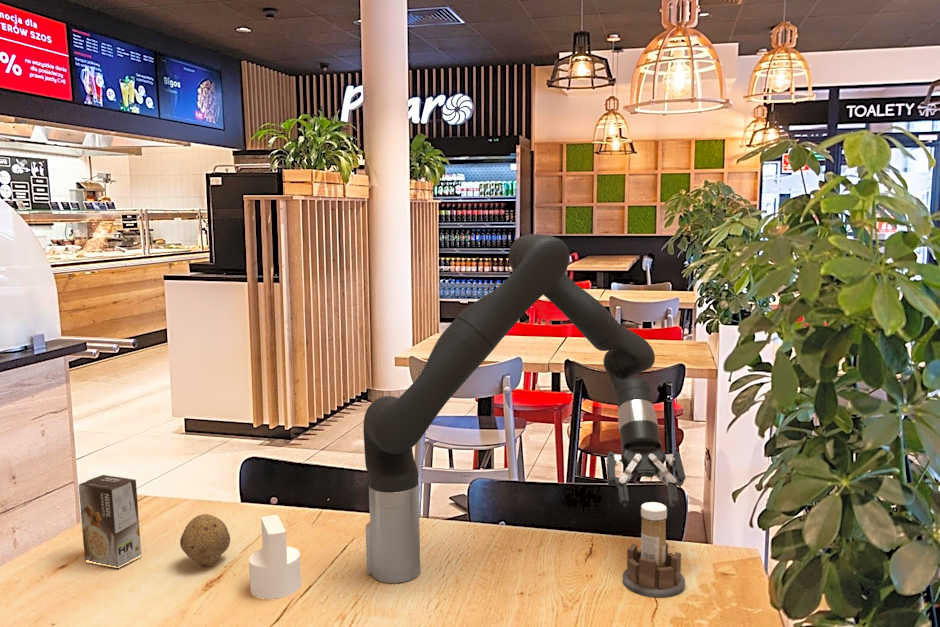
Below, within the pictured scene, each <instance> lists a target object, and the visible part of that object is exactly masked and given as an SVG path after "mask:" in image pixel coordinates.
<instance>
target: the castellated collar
mask: <svg viewBox="0 0 940 627" xmlns="http://www.w3.org/2000/svg"><path fill="white" fill-rule="evenodd" d="M626 552H627V554H626V555H627V559H626V560H627V561H626V562H627V563H626V569H625V570H624V571H623V573H622V584H623V586H624V587H625V588H627V589H628V590H629V591H631V592H632V593H635V594H638V595H640V596H644V597H649V598H657V599H658V598H662V599H663V598H669V597H670V598H671V597H674V596H678V595H679V594H681V593H683V592H684V590H685V588H686V579H685V576H684V575H683V574H682V568H681V567H682V553H681V552H679V551H678V552H677V551H674V553H673V552H669V543H667V542H666V561H665V567H663V568H657V582H656V560H652V559H647V558H642V557H641V548H640V549H638V544H637V543H636V544H635V543H631V544H630V546H629V547H628V548H627V551H626Z"/></svg>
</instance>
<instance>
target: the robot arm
mask: <svg viewBox="0 0 940 627" xmlns="http://www.w3.org/2000/svg"><path fill="white" fill-rule="evenodd" d="M508 261H509V265H510V267H511V269H512V271H513V272H512V273H511V274H510V275H509V276H508V277H507V278H506V280H505V281H504V282H502V283H501V285H499V286H498V287H497V288H494V290H492V291H491V292H489V293H488V294H485V295H484V296H483V297H481V298H479V299H478V300H476V301H475V302H473V303H471V305H468V307H466V308H465V309H464V310H462V311H461V312H460V313H459V314H458V315H457V317H456V318H455V319H454V320H452V322H451V323H450V324H449V325H448V326H447V328H445V330H444V331H443V332H442V334H441V335H439V336H440V337H439V338H438V339H437V340H436V342H435V344H434V345H433V348H432V350H431V352H430V353H429V357H428V359H427V361H426V363H425V365H424V366H423V367H424V368H423V369H422V371H421V373H420V374H419V376H417V378H416V379H415V381H413V383H412V384H411V385H410V386H409V387H408V388H407V389H406V390H405V391H404V393H403V394H401V395H400V396H399V397H396V396H391V395H388V396H387V395H385V396H381V397H378V398H377V399H375V400H374V401H372V402H371V404H369V406H368V408H367V409H366V411H365V414H364V417H363V418H364V419H363V445H364V446H363V447H364V462H365V463H364V464H365V469H366V472H367V478H368V499H369V500H368V501H369V502H368V503H369V504H368V505H369V522H367V523H366V525H365V548H366V549H365V551H366V554H365V555H366V556H365V557H366V574H368V575H371V577H372V578H373V579H375V580H376V581H378V582H381V583H382V582H383V583H388V584H399V583H404V582H408V581H411V580H413V579H415V578H417V577H418V576H419V575H420V574H421V536H420V533H421V532H420V531H421V530H420V527H421V526H420V491H419V489H420V488H419V487H420V485H419V470H418V466H417V464H416V461H415V458H414V453H413V447H415V446H416V445H417V444H418V443H419V441H420V440H421V438H423V436H424V434H425V433H426V432H427V430H428V429H429V427H430V426H431V424H432V423H433V422H434V420H435V419H436V417H437V416H438V414H440V412H441V410H442V409H443V407H444V406H445V405H446V404H447V403H448V401H449V400H450V398H451V399H452V397H453V396H454V394H456V392H458V390H459V389H460V388H461V387H462V386H463V385H464V383H465V382H466V381H467V380H468V379H469V377H471V375H472V374H473V373H474V372H475V371H476V370H477V369H478V368H479V367H480V365H482V364H483V362H484V361H485V360H486V359H487V358H488V356H489V355H490V354H491V353H492V352H493V350H494V349H495V348H496V347H497V346H498V344H500V342H501V341H502V339H504V337H505V336H506V335H507V334H508V333H509V332H510V331H511V329H512V328H514V326H515V325H516V324H517V323H518V322H519V320H520V319H521V318H522V317H523V315H525V313H526V312H527V311H529V309H530V308H531V307H532V306H533V305H534V304H536V302H537V301H539V299H540V298H542V297H543V296H544V297H545V298H546V299H548V300H549V301H550V302H551V303H552V304H553V305H554V306H555V307H556V308H557V309H558V310H559V311H560V312H562V314H563V315H564V316H565V317H566V318H567V319H568V320H569V321H570V322H571V323H572V324H573V326H575V328H577V329H578V331H579V332H580V333H581V334H582V335H583V336H584V337H585V338H586V340H588V341H589V343H590V344H591V345H592V346H593V347H594V348H595V349H596V350H598V351H600V352H606V353H605V354H604V356H603V367H604V370H605V372H606V374H607V376H608V377H609V380H610V382H611V384H612V387H613V389H614V392H615V395H616V403H617V412H618V413H617V414H618V415H617V421H618V431H619V436H620V445H621V454H615V453H614V451H609V452H608V454H607V456H606V476H607V477H606V479H607V485H608V486H610V487H613V486H614V487H616V488H617V490H618V497H619V502H620V505H623V507H624V508H627V507H629V505H630V499H629V498H630V497H629V490H628V482H629V481H630V480H631V478H632V477H636V478H643V477H647V478H654V477H656V478H657V479H658V480H659V481H660V482H662V483H664V484H665V486H666V487H667V489H666V490H667V497H668V503H669V508H674V507H675V506H676V505H677V503H678V502H679V494H678V486H679V487H681V486H683V485H684V482H685V481H686V473H685V469H684V466H683V462H682V461H683V460H682V458H681V457H682V456H681V453H680V452H679V451H674V452H673V453H669V454H666V453H664V451H663V449H662V442H661V436H660V431H659V424H658V418H657V414H656V411H655V408H654V401H653V395H652V389H651V386H650V384H649V382H648V380H646V379H644V378H642V377H634V376H636V375H638V374H640V373H643V372H645V371H647V370H649V369H651V368H652V367H653V366H654V363H655V352H654V349H653V347H652V346H651V344H650V343H649V342H648V341H647V340H646V339H644V337H642V336H641V335H639V334H637V333H635V332H634V331H632V330H630V329H628V328H627V327H626V326H624V325H622V324H620V323H619V321H618V320H617V319H616V318H615V316H613V315H612V314H611V313H610V311H609V310H608V309H607V308H606V307H605V306H604V305H603V304H602V303H601V302H600V301H599V300H597V299H596V297H594V296H593V295H591V294H590V293H588V291H586V290H584V288H582V287H581V286H579V285H578V284H577V283H576V282H574V281H573V280H572V279H571V278H570V277H569V276H568V275H567V274H566V271H567V269H568V266H569V264H570V251H569V247H568V245H567V244H566V243H565V242H564V241H563V240H562V239H560V238H559V237H558V238H557V237H555V236H552V235H545V234H537V233H536V234H535V233H531V234H523V235H520V236H519V237H517V238H516V239H515V240H514V241H513V242H512V243H511V246H510V248H509V252H508ZM619 462H621V463H622V465H623V466H624V467H625V470H624V472H623V473H622V474H621V476H620V477H618V476H616V467H617V466H618V464H619ZM665 462H668V464H669V466H670V467H672V469H673V473H674V475H673V474H672V473H671V472H670V470H669V469H668V468H667V466H665V465H664V464H665Z"/></svg>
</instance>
